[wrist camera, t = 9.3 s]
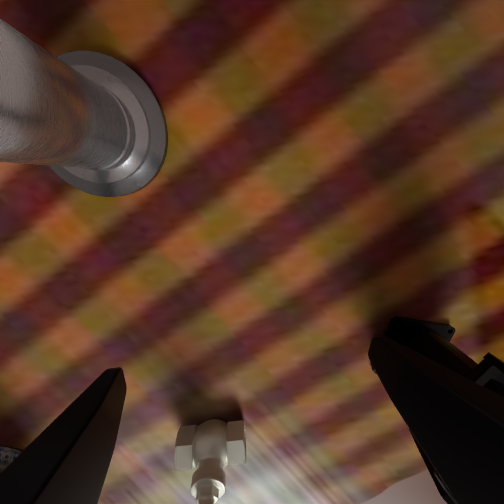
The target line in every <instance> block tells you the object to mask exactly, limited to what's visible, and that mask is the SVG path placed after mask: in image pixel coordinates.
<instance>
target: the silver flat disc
mask: <svg viewBox="0 0 504 504" xmlns="http://www.w3.org/2000/svg"><path fill="white" fill-rule="evenodd" d="M57 57H58V58H59V59H61V60H62V61H64V62H65V63H67V64H68V65H69V66H71V67H72V68H74V69H75V70H77V71H78V72H80V73H81V74H83V75H84V76H86V77H87V78H89V79H90V80H93V81H95V82H97V83H99V84H101V85H102V86H104V87H105V88H107V89H108V90H110V91H111V92H113V93H114V94H115V95H116V96H117V97H119V98H120V99H121V101H122V102H123V103H124V104H125V106H126V107H127V109H128V110H129V112H130V114H131V116H132V119H133V122H134V126H135V132H136V140H135V146H134V149H133V151H132V153H131V155H130V157H129V158H128V159H127V161H126V162H125V163H123V164H122V165H121V166H119V167H117V168H114V169H111V170H105V171H101V170H88V169H83V168H80V167H66V166H52V165H49V166H50V168H51V169H52V170H53V171H54V172H55V173H56V174H57V175H58V176H59V177H61V178H62V179H63V180H64V181H66V182H67V183H69V184H70V185H72V186H73V187H75V188H77V189H79V190H81V191H84V192H87V193H89V194H93V195H97V196H104V197H116V196H123V195H128V194H131V193H134V192H136V191H139V190H141V189H142V188H144V187H145V186H147V185H148V184H149V183H150V182H151V181H152V180H153V179H154V178H155V177H156V176H157V174H158V173H159V171H160V169H161V167H162V165H163V163H164V160H165V157H166V153H167V146H168V133H167V125H166V121H165V117H164V114H163V111H162V108H161V106H160V104H159V102H158V100H157V98H156V97H155V95H154V93H153V92H152V91H151V89H150V88H149V87H148V85H147V84H146V83H145V82H144V81H143V80H142V79H141V78H140V77H139V76H138V75H137V74H136V73H135V72H134V71H133V70H132V69H130V68H129V67H128V66H127V65H125V64H124V63H122V62H120V61H119V60H117V59H115V58H113V57H111V56H108V55H105V54H102V53H99V52H94V51H72V52H68V53H64V54H61V55H59V56H57Z"/></svg>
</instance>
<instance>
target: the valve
mask: <svg viewBox="0 0 504 504" xmlns="http://www.w3.org/2000/svg"><path fill="white" fill-rule="evenodd" d="M174 462H175V468H176V470H187V469H196V468H197V470H196V471H195V472H194V474H193V477H192V483H191V494H192V495H193V497H195V498H196V502H197V503H198V504H215V503H216V502H217V500H218V498H220V497H221V496H222V495H223V494H224V492H225V482H226V475H225V472H224V471H223V470H222V469H223V468H224V467H225V466H227V465H236V464H246V438H245V424H244V421H243V420H241V421H231V422H228V424H227V423H225V422H224V421H222V420H218V419H211V420H207V421H205V422H203V423H202V424H200V425H199V426H196V425H189V426H181V427H180V429H179V431H178V434H177V438H176V444H175V455H174Z"/></svg>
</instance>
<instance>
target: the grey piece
mask: <svg viewBox="0 0 504 504" xmlns="http://www.w3.org/2000/svg"><path fill="white" fill-rule="evenodd" d="M135 140H136V132H135V126H134V122H133V119H132V116H131V114H130V112H129V110H128V109H127V107H126V106H125V104H124V103H123V102H122V101H121V99H120V98H119V97H117V96H116V95H115V94H114V93H113V92H111V91H110V90H108V89H107V88H105V87H104V86H102V85H101V84H99V83H97V82H95V81H93V80H90V79H89V78H87V77H86V76H84V75H83V74H81V73H80V72H78V71H77V70H75V69H74V68H72V67H71V66H69V65H68V64H67V63H65V62H64V61H62V60H61V59H59V58H58V57H56V56H55V55H53V54H52V53H50V52H49V51H47V50H46V49H44V48H43V47H41V46H40V45H38V44H37V43H35V42H34V41H32V40H31V39H29V38H28V37H26V36H25V35H23V34H22V33H20V32H19V31H17V30H16V29H14V28H13V27H11V26H10V25H8V24H7V23H5V22H4V21H3V20H1V19H0V162H11V163H24V164H38V165H52V166H66V167H80V168H83V169H88V170H101V171H105V170H111V169H114V168H117V167H119V166H121V165H122V164H123V163H125V162H126V161H127V159H128V158H129V157H130V155H131V153H132V151H133V149H134V146H135Z"/></svg>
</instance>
